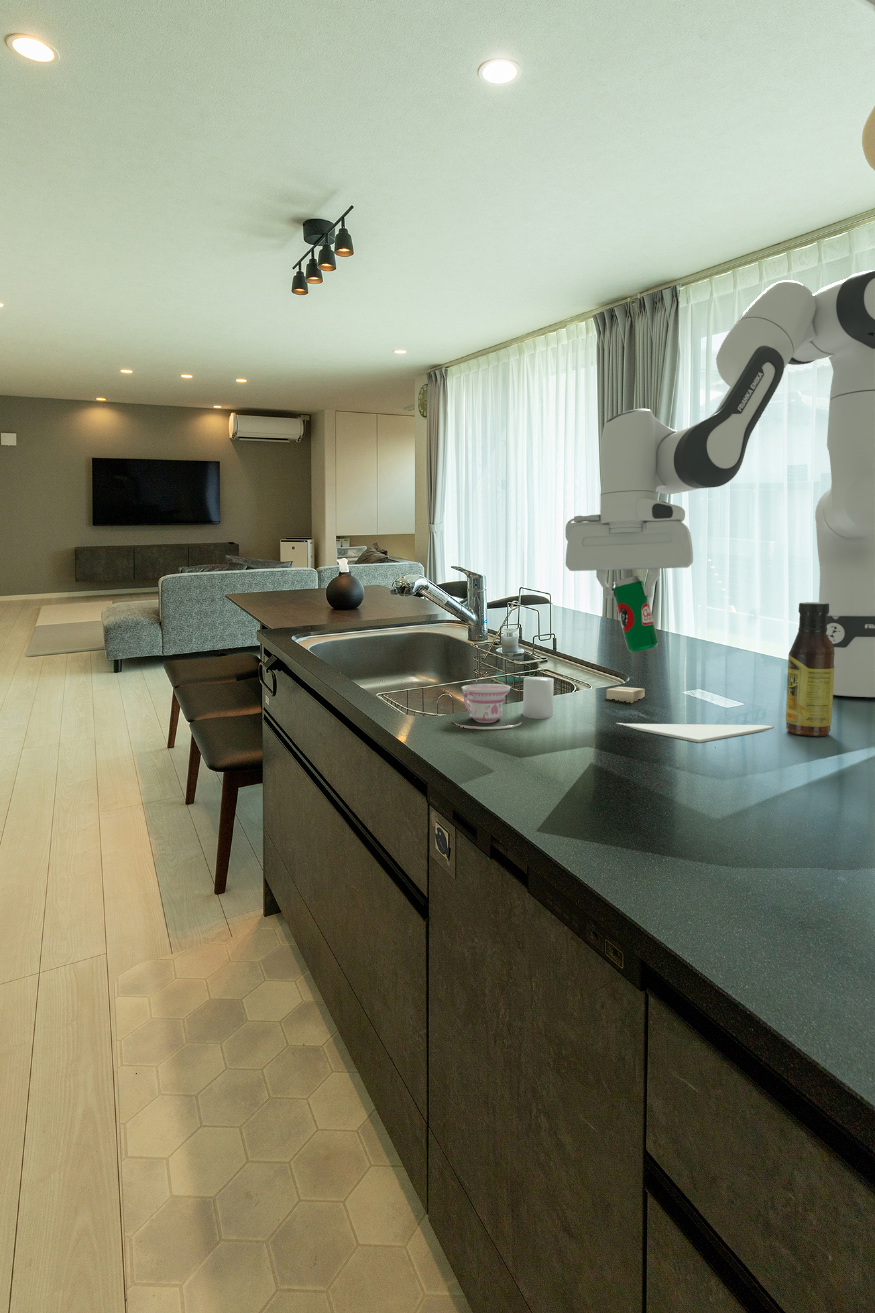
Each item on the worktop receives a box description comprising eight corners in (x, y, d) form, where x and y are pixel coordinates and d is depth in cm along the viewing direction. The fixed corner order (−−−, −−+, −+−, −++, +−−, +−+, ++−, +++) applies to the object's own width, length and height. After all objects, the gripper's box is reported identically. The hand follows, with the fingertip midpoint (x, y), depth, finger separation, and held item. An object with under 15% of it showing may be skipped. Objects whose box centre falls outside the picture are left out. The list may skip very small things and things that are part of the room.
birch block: (619, 707, 138) (619, 686, 138) (644, 710, 135) (644, 688, 134) (606, 711, 134) (606, 689, 134) (631, 714, 131) (632, 691, 131)
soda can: (655, 647, 118) (637, 574, 118) (625, 654, 120) (607, 583, 120) (662, 644, 122) (644, 574, 122) (632, 651, 125) (615, 582, 125)
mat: (679, 713, 130) (679, 711, 130) (773, 729, 115) (773, 726, 115) (606, 723, 121) (606, 721, 121) (699, 742, 106) (699, 739, 106)
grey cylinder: (540, 716, 128) (541, 676, 127) (558, 721, 123) (559, 679, 123) (516, 718, 125) (517, 677, 125) (534, 723, 121) (535, 681, 120)
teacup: (486, 715, 130) (486, 680, 130) (538, 724, 121) (538, 687, 121) (435, 723, 122) (435, 686, 122) (487, 734, 113) (487, 694, 113)
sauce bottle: (785, 728, 116) (790, 601, 114) (830, 731, 113) (836, 602, 112) (784, 736, 110) (790, 602, 108) (832, 739, 107) (838, 602, 106)
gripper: (560, 514, 122) (560, 598, 123) (690, 506, 113) (689, 597, 115) (570, 517, 128) (570, 598, 129) (694, 510, 119) (693, 596, 120)
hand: (627, 597), depth 122 cm, fingers closed on soda can, 5 cm apart
